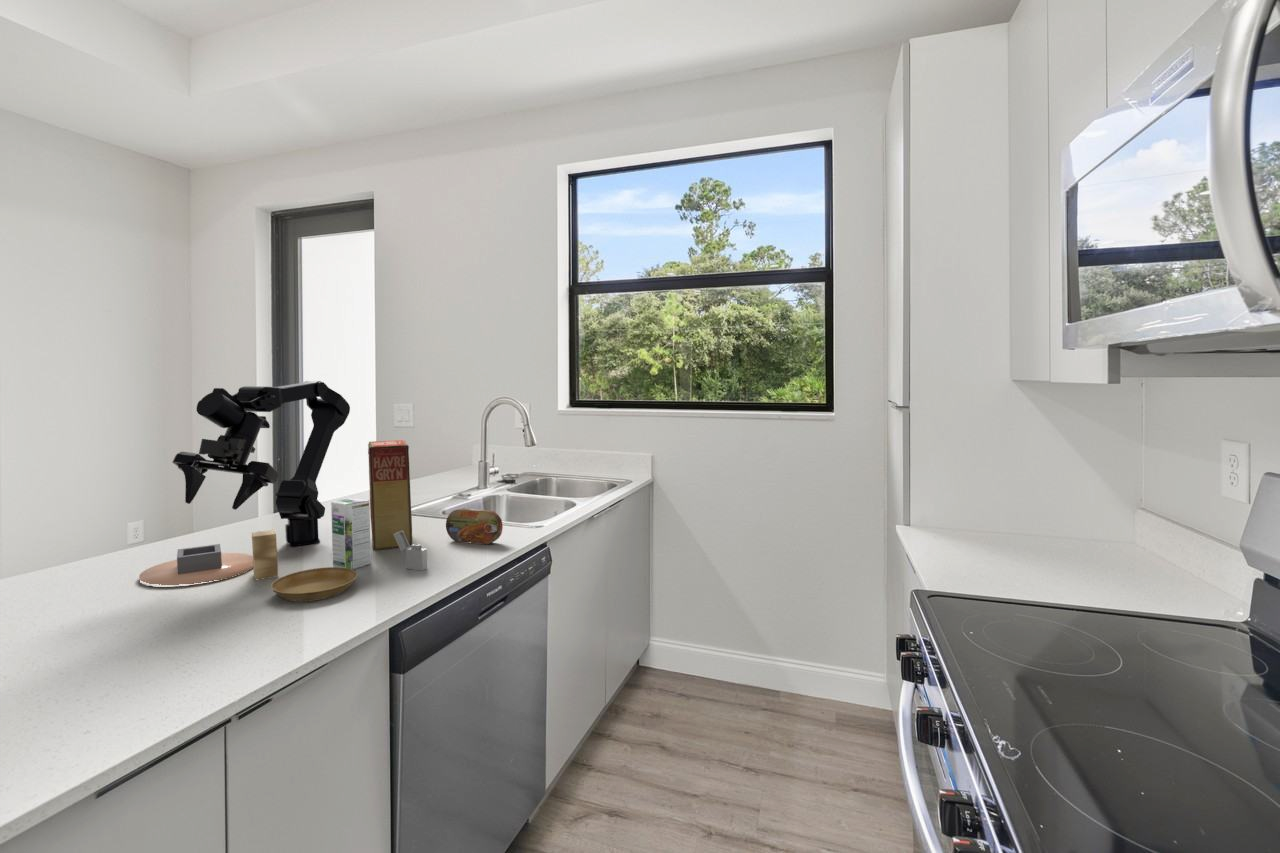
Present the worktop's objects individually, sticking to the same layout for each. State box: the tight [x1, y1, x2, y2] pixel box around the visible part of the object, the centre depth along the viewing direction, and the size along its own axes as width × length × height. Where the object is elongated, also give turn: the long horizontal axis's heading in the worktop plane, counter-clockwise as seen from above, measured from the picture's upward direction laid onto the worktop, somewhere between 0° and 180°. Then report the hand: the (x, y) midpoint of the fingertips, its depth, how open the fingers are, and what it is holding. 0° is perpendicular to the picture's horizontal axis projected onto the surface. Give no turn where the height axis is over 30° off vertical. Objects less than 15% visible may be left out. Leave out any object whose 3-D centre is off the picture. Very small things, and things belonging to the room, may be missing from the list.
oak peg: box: [251, 529, 279, 580], centre depth 126 cm, size 4×4×9 cm
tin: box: [445, 508, 504, 545], centre depth 153 cm, size 15×3×8 cm, turn 73°
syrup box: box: [330, 497, 372, 570], centre depth 133 cm, size 6×6×14 cm
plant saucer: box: [270, 566, 358, 602], centre depth 118 cm, size 15×15×3 cm
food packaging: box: [367, 439, 413, 551], centre depth 152 cm, size 13×9×25 cm
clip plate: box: [138, 543, 253, 585], centre depth 129 cm, size 20×20×4 cm
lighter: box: [394, 530, 428, 571], centre depth 132 cm, size 7×2×8 cm, turn 76°
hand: (210, 506), depth 125 cm, fingers open, 9 cm apart
